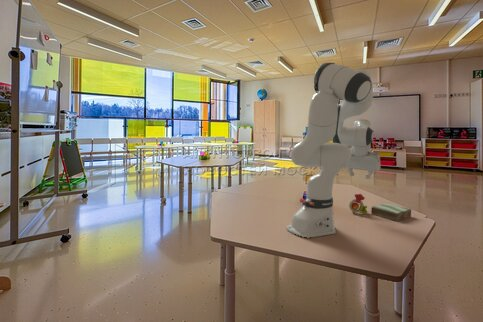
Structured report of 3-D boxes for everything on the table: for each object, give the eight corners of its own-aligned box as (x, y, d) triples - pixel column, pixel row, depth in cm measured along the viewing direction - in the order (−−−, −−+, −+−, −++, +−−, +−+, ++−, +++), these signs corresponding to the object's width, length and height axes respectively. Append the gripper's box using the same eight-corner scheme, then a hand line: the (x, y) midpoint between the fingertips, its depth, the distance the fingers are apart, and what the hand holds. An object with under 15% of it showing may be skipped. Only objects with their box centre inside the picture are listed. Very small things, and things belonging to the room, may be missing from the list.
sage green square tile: (396, 221, 122) (396, 213, 122) (371, 214, 133) (371, 206, 133) (410, 216, 128) (411, 209, 128) (385, 210, 140) (386, 203, 139)
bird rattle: (355, 218, 132) (372, 212, 131) (347, 199, 132) (364, 193, 130) (352, 215, 139) (368, 209, 137) (344, 196, 138) (360, 190, 137)
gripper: (383, 152, 124) (382, 179, 126) (348, 149, 141) (347, 173, 143) (376, 153, 121) (374, 181, 122) (340, 150, 138) (339, 174, 140)
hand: (359, 177), depth 133 cm, fingers open, 8 cm apart
